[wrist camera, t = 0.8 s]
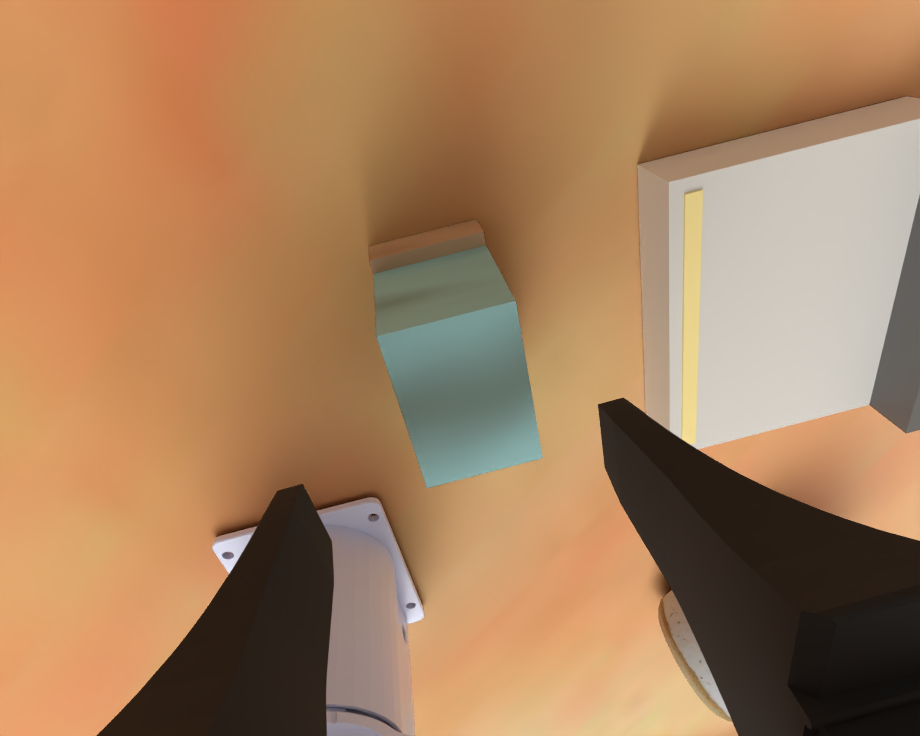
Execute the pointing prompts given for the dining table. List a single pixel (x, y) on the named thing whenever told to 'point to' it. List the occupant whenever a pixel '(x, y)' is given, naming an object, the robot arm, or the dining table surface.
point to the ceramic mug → (689, 655)
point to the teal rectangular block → (454, 353)
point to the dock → (784, 276)
